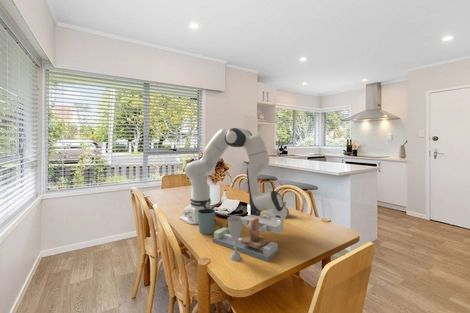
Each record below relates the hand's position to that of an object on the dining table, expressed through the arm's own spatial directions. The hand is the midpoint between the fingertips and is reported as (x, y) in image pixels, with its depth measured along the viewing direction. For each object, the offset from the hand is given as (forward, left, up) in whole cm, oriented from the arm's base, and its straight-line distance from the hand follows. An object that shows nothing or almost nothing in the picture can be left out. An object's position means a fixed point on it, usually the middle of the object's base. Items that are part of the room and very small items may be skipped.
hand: (253, 228), depth 110 cm
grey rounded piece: (-12, +54, -11) cm, 56 cm away
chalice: (-3, -10, -11) cm, 15 cm away
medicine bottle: (-27, +43, -11) cm, 52 cm away
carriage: (0, +1, -7) cm, 7 cm away
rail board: (-6, +1, -11) cm, 13 cm away
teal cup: (-34, +4, -11) cm, 36 cm away
